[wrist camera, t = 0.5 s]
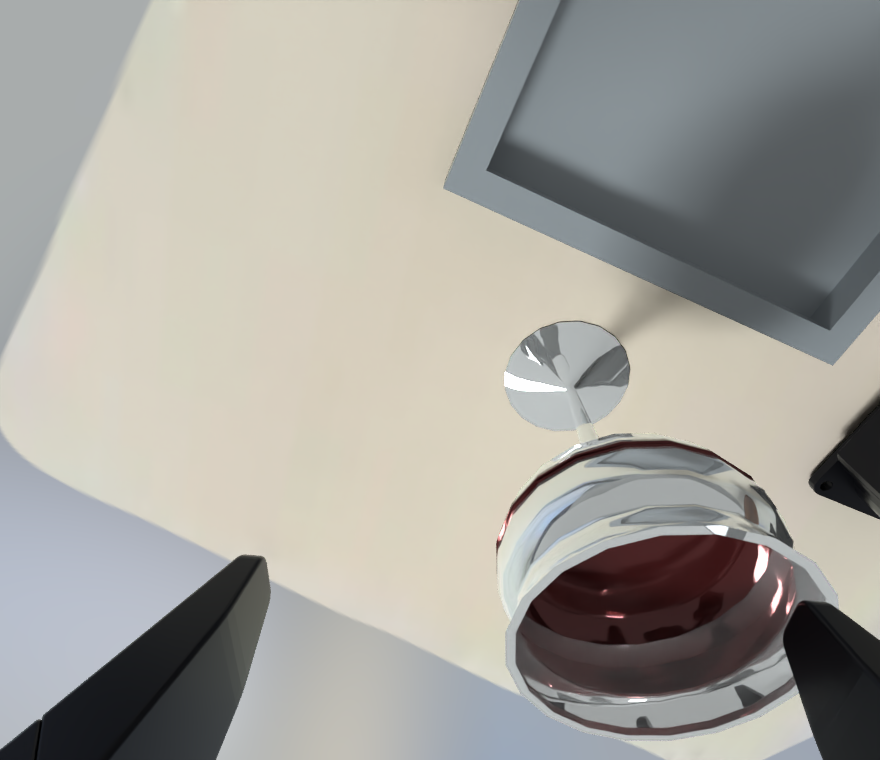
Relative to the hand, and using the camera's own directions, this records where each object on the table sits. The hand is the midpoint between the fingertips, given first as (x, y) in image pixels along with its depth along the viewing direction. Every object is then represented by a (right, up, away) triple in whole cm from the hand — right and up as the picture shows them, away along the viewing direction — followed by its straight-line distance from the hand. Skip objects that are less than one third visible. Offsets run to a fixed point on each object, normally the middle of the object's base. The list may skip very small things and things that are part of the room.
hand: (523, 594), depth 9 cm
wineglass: (+4, +4, +13) cm, 14 cm away
